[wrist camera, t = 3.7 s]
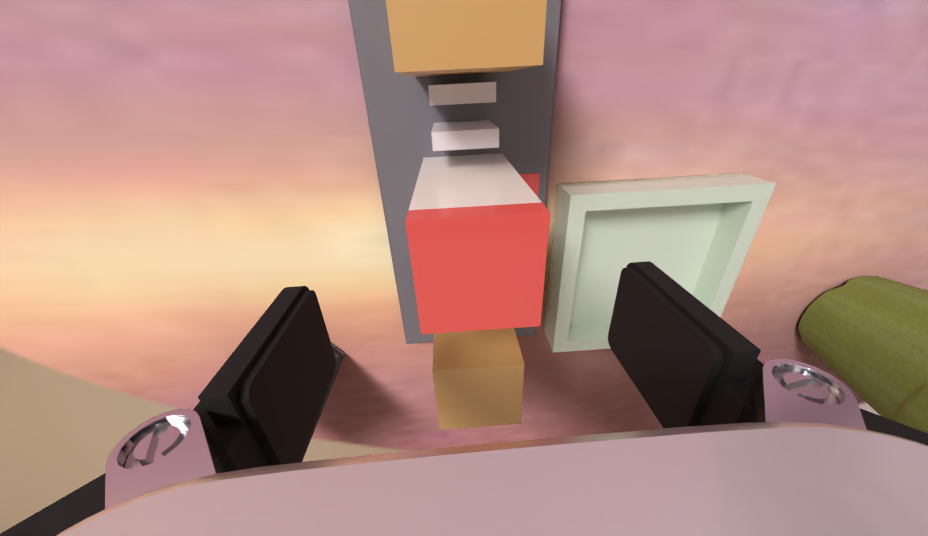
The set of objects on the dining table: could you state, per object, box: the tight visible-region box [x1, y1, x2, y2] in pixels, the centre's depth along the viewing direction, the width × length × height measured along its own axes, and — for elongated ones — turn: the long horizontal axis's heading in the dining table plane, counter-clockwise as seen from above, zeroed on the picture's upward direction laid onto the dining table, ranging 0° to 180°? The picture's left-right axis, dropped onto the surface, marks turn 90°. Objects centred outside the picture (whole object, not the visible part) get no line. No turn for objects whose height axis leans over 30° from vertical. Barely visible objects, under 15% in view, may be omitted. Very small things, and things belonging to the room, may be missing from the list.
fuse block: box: [348, 0, 561, 429], centre depth 17 cm, size 10×23×9 cm, turn 3°
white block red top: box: [405, 153, 550, 334], centre depth 16 cm, size 4×4×10 cm
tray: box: [544, 173, 776, 353], centre depth 23 cm, size 12×12×2 cm
